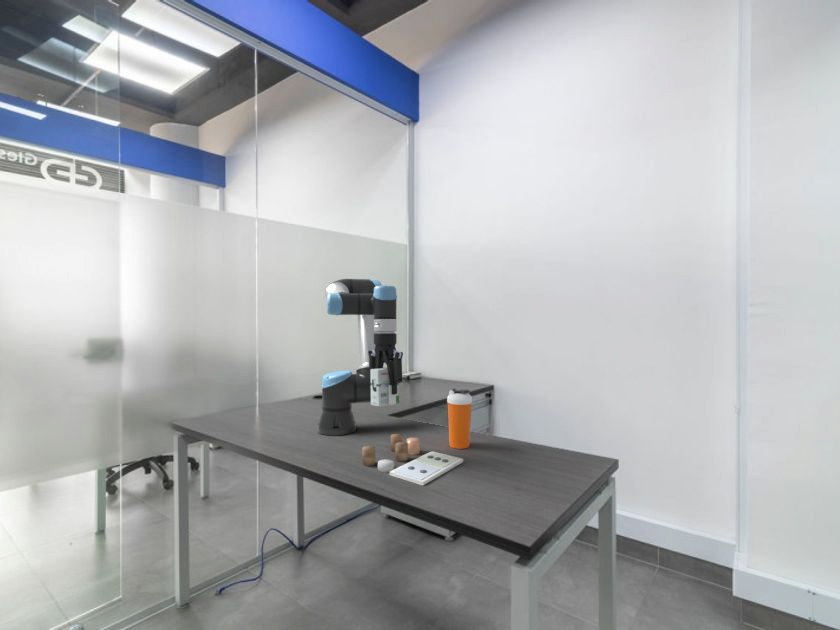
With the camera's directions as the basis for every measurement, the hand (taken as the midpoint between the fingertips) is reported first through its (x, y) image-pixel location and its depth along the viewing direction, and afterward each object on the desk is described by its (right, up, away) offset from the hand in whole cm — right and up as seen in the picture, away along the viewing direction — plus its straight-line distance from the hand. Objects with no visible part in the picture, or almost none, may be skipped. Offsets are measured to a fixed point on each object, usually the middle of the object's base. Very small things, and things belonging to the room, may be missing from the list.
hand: (385, 403), depth 136 cm
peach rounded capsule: (+9, -18, +4) cm, 20 cm away
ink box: (0, -1, 0) cm, 1 cm away
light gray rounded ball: (+1, -18, -10) cm, 21 cm away
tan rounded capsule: (-5, -18, -6) cm, 19 cm away
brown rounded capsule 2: (+5, -18, -3) cm, 19 cm away
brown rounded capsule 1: (+3, -18, +6) cm, 19 cm away
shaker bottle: (+25, -18, +11) cm, 33 cm away
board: (+14, -18, -10) cm, 25 cm away
